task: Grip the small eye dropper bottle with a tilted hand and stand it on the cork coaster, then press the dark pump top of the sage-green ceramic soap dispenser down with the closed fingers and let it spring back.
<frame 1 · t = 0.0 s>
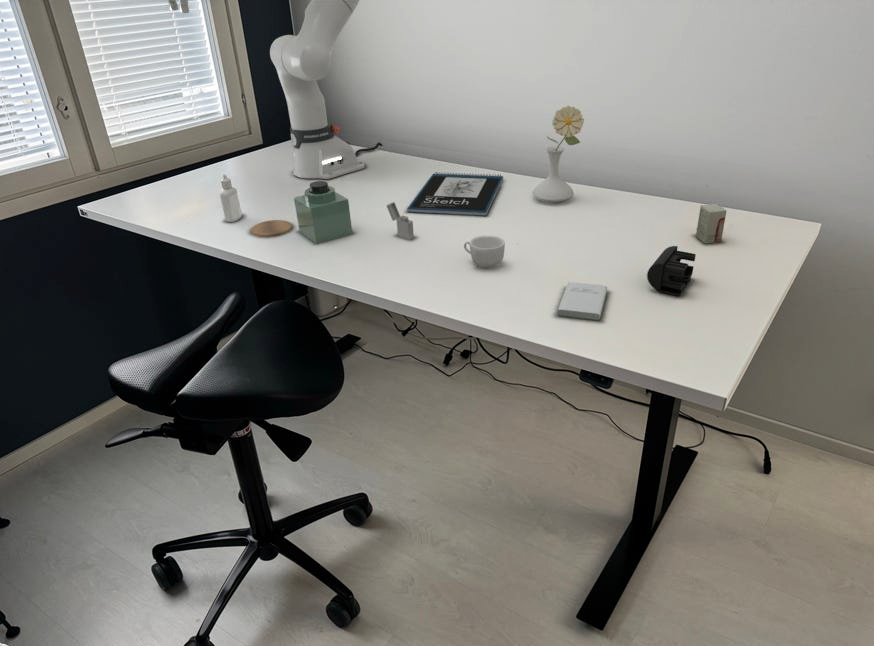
hand: (179, 11, 174), 48 cm above the table, tool pointing down, fingers open, 8 cm apart
coaster: (271, 229, 174), on the table
eye dropper bottle: (234, 219, 182), on the table
lighter: (401, 236, 169), on the table
flower in vase: (555, 199, 188), on the table
small box: (707, 240, 162), on the table
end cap: (668, 285, 142), on the table
hard drive: (582, 304, 136), on the table
sketchbook: (458, 196, 192), on the table
pump top: (319, 187, 165), point 12 cm above the table, slide at 0.1 cm
teacup: (483, 264, 154), on the table
dispenser: (325, 232, 172), on the table
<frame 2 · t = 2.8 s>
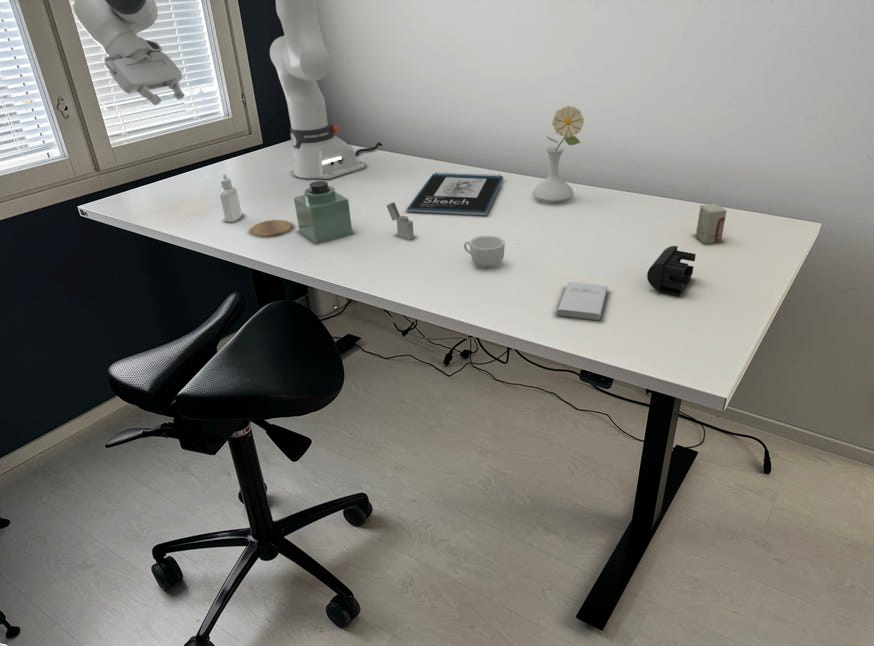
hand: (170, 100, 171), 29 cm above the table, tool tilted 40°, fingers open, 8 cm apart
nothing on the table moved.
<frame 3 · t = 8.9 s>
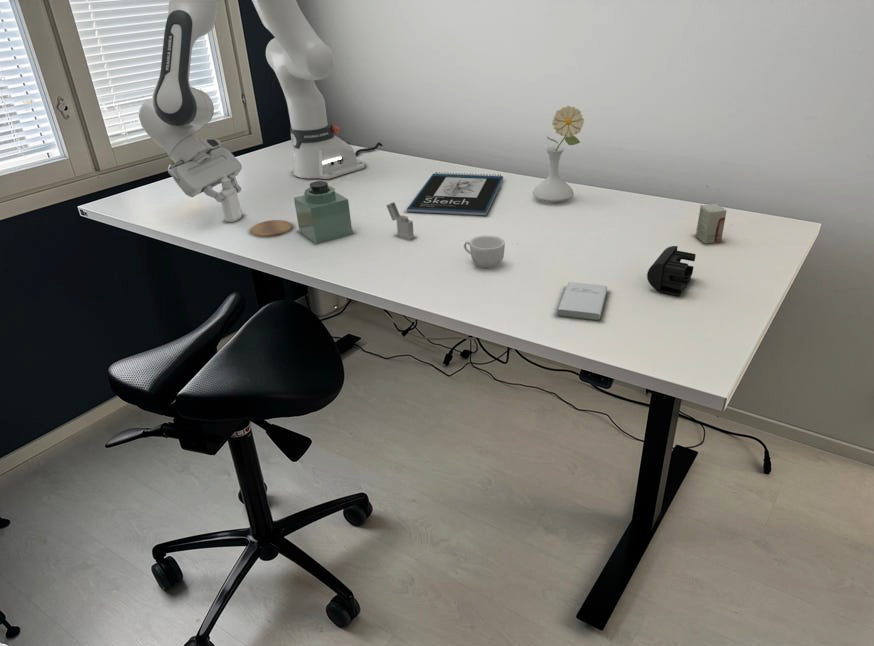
hand: (231, 195, 178), 6 cm above the table, tool tilted 45°, fingers closed on eye dropper bottle, 6 cm apart
eye dropper bottle: (234, 219, 182), on the table, touching gripper
everything else where it was.
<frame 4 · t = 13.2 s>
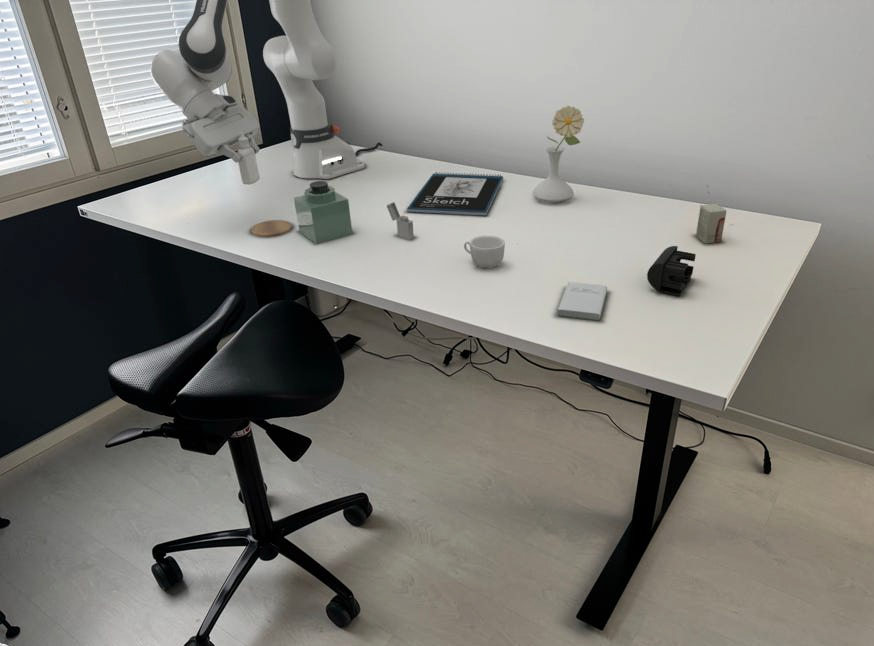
hand: (248, 156, 166), 18 cm above the table, tool tilted 45°, fingers closed on eye dropper bottle, 5 cm apart
eye dropper bottle: (251, 182, 170), point 12 cm above the table, touching gripper
everything else where it was.
when the fingers open (7 cm above the table, at t = 17.4 s): eye dropper bottle stays where it is, resting on coaster.
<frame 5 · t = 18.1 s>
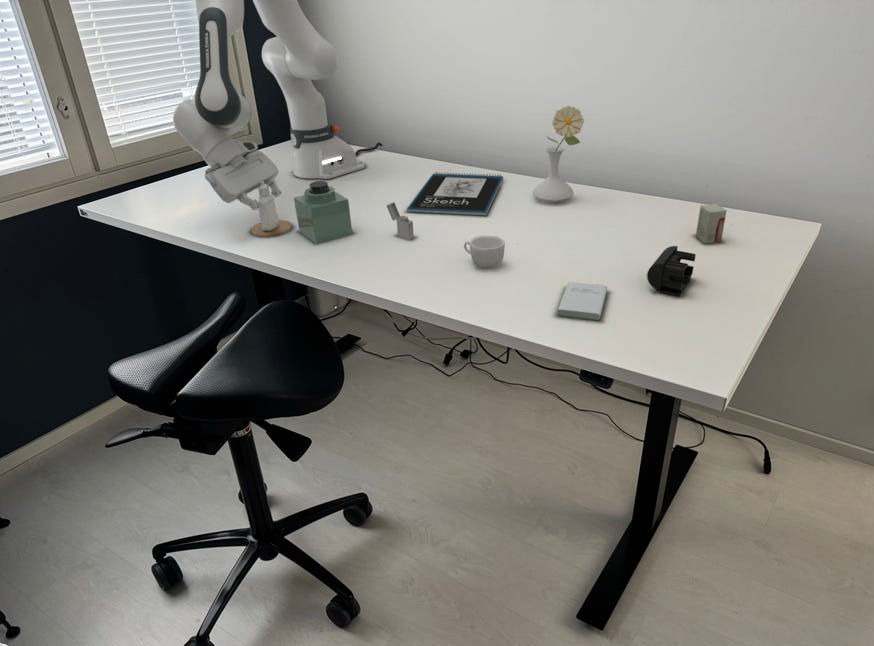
hand: (268, 201, 170), 8 cm above the table, tool tilted 45°, fingers open, 8 cm apart
eye dropper bottle: (271, 228, 174), resting on coaster
everything else where it was.
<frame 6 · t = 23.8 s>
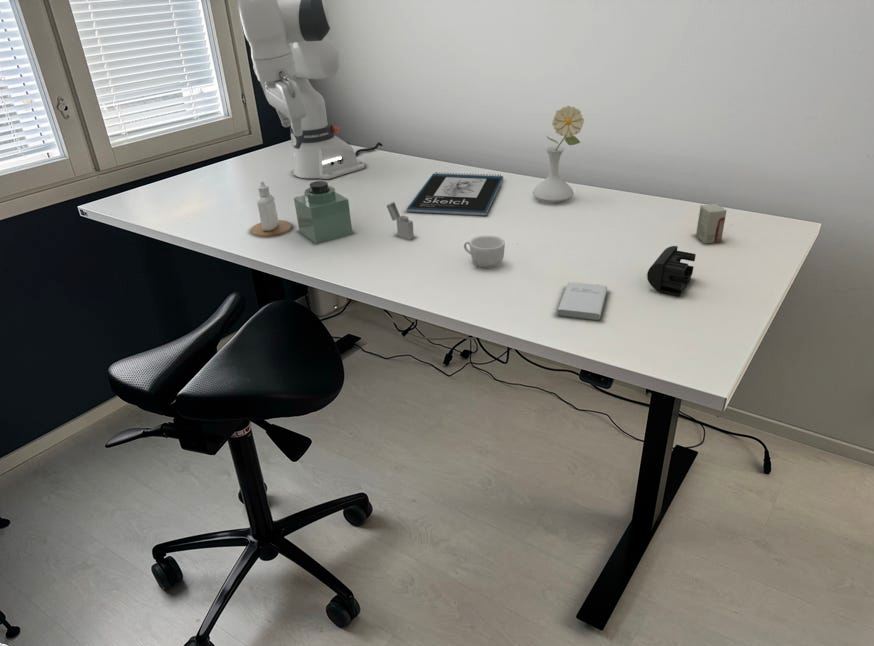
hand: (292, 130, 158), 25 cm above the table, tool pointing down, fingers open, 8 cm apart
nothing on the table moved.
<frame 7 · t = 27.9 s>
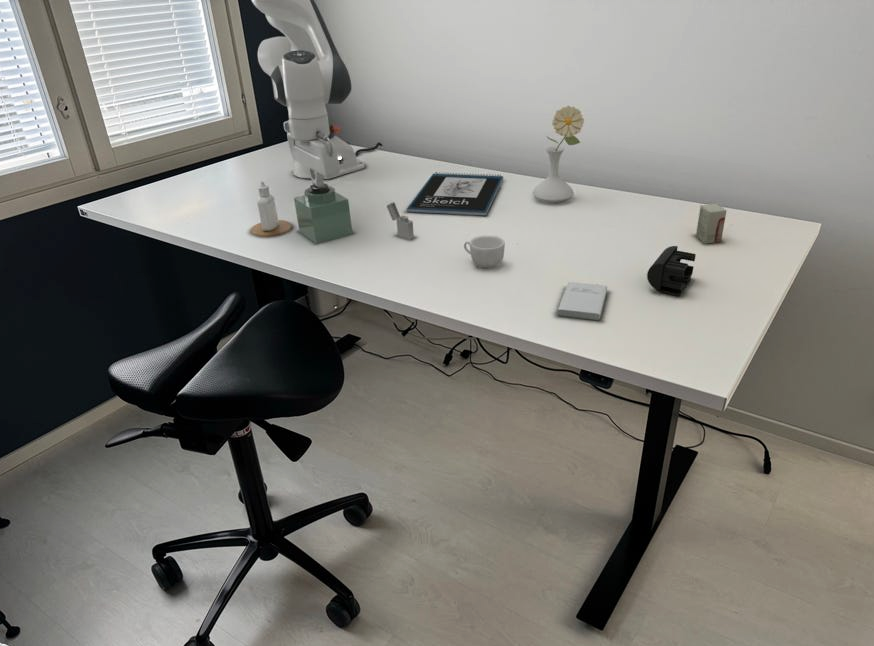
hand: (318, 186, 165), 12 cm above the table, tool pointing down, fingers closed, pressing on pump top
pump top: (319, 190, 166), point 11 cm above the table, slide at -0.5 cm, touching gripper
everything else where it was.
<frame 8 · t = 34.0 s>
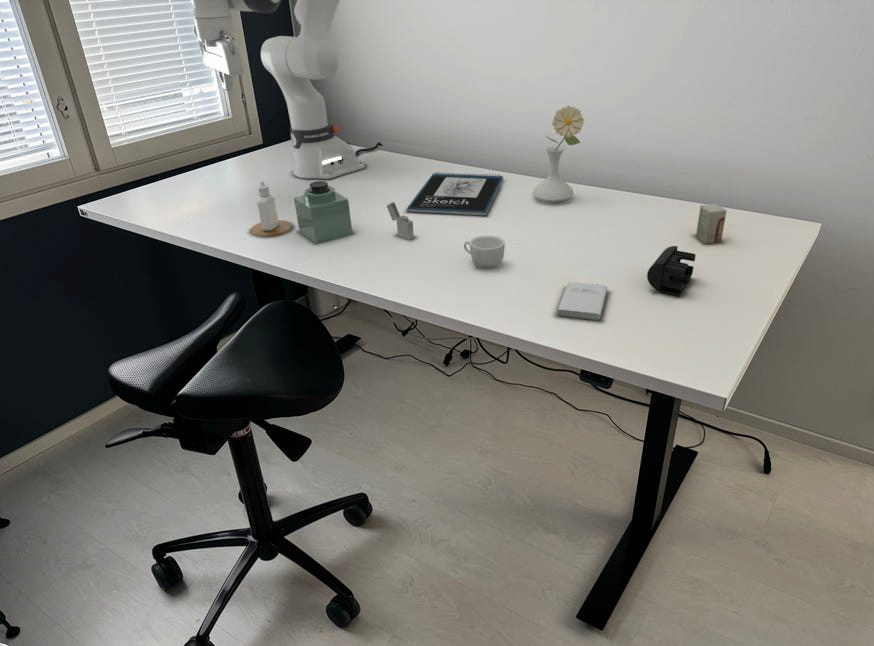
hand: (228, 90, 171), 31 cm above the table, tool pointing down, fingers closed
pump top: (319, 187, 165), point 12 cm above the table, slide at 0.1 cm
everything else where it was.
at the end: eye dropper bottle 0.1 cm off-centre on the coaster, point 0.4 cm above the coaster's base; pump top pushed in 0.9 cm at the most during the clip, back to where it started at the end; pump top slide at 0.1 cm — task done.
